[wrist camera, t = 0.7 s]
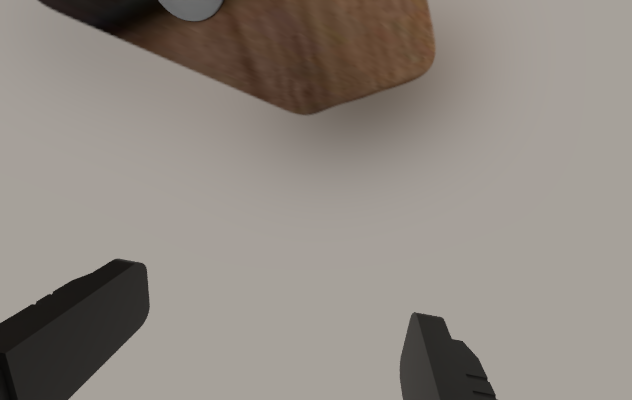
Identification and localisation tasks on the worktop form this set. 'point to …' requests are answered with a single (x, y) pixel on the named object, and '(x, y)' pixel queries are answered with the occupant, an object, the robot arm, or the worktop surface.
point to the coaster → (192, 8)
